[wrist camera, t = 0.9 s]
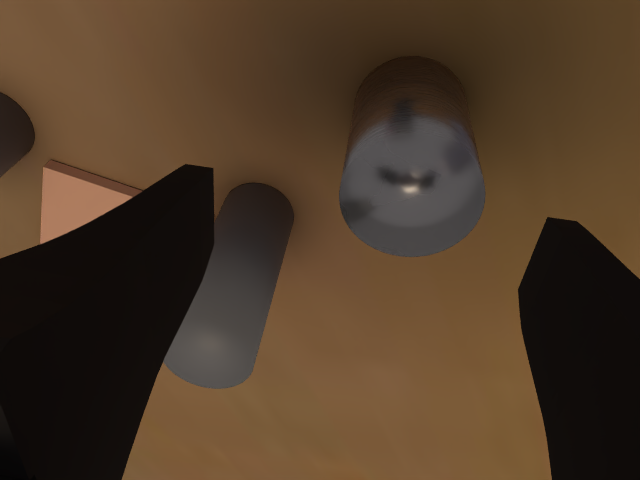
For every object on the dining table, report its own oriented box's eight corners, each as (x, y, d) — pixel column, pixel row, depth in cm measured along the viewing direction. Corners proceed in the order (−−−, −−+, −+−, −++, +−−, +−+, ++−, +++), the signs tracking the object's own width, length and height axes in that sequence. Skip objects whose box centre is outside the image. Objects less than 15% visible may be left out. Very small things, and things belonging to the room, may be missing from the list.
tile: (213, 214, 25) (209, 222, 24) (184, 322, 29) (180, 331, 28) (50, 159, 24) (43, 166, 23) (44, 278, 28) (38, 286, 28)
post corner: (302, 197, 24) (264, 340, 17) (282, 251, 25) (240, 398, 19) (232, 173, 23) (167, 308, 17) (216, 229, 25) (152, 371, 19)
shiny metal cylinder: (487, 80, 20) (513, 164, 15) (436, 174, 22) (445, 273, 17) (378, 38, 20) (369, 112, 15) (339, 139, 22) (320, 230, 17)
